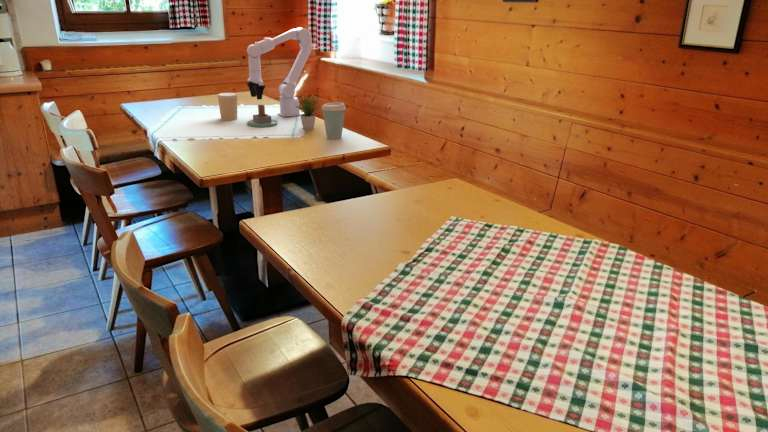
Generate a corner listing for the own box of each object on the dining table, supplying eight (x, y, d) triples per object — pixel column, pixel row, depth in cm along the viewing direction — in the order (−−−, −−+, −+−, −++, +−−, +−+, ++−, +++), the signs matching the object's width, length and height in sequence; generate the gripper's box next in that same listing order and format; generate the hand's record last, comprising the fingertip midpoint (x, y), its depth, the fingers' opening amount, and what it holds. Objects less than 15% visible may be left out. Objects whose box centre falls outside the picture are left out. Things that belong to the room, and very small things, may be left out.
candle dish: (270, 119, 279) (269, 111, 277) (282, 125, 268) (281, 117, 267) (243, 122, 272) (242, 114, 270) (254, 128, 261) (253, 120, 259)
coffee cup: (241, 117, 282) (239, 93, 278) (235, 121, 274) (233, 96, 269) (223, 116, 283) (221, 92, 279) (216, 120, 274) (214, 95, 270)
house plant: (318, 133, 256) (317, 97, 249) (289, 131, 258) (287, 95, 252) (327, 126, 268) (326, 92, 262) (299, 124, 271) (298, 90, 265)
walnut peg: (263, 120, 271) (262, 104, 268) (266, 122, 269) (265, 105, 266) (258, 121, 270) (257, 104, 267) (260, 122, 268) (259, 106, 265)
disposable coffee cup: (324, 140, 244) (323, 106, 238) (320, 134, 254) (319, 101, 248) (348, 139, 247) (348, 105, 241) (343, 133, 256) (343, 100, 251)
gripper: (241, 68, 279) (243, 96, 284) (252, 72, 268) (254, 101, 273) (255, 67, 283) (256, 95, 288) (266, 71, 272) (268, 99, 277)
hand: (256, 98), depth 281 cm, fingers open, 7 cm apart
